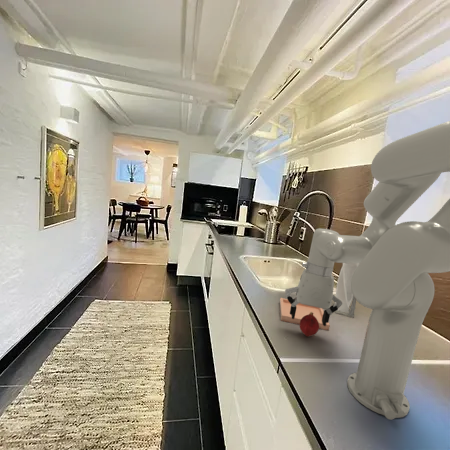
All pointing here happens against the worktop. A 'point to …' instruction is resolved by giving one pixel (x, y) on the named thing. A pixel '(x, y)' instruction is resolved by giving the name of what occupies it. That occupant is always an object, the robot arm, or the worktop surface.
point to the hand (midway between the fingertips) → (307, 320)
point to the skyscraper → (346, 290)
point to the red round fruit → (309, 325)
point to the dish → (301, 313)
